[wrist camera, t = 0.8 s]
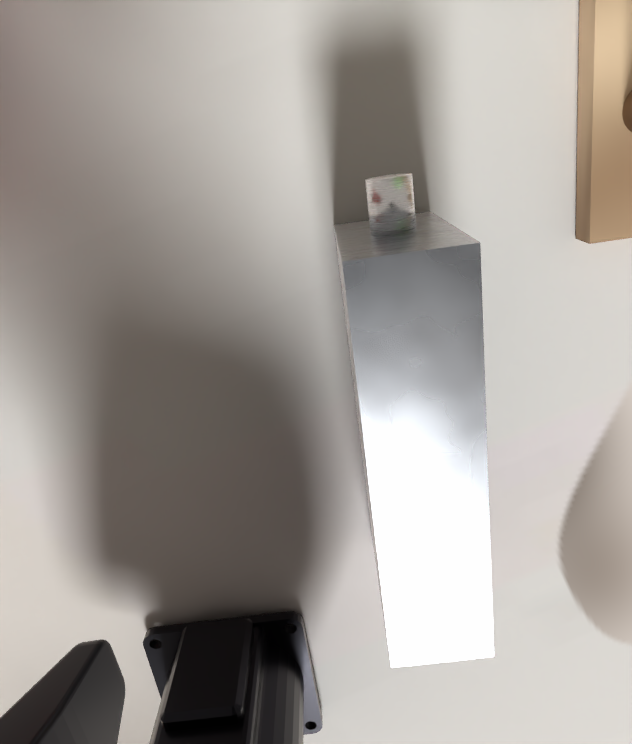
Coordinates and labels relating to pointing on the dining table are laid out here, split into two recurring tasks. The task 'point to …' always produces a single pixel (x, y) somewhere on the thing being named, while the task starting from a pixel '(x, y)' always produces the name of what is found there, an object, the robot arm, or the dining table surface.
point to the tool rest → (604, 121)
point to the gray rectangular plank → (421, 421)
